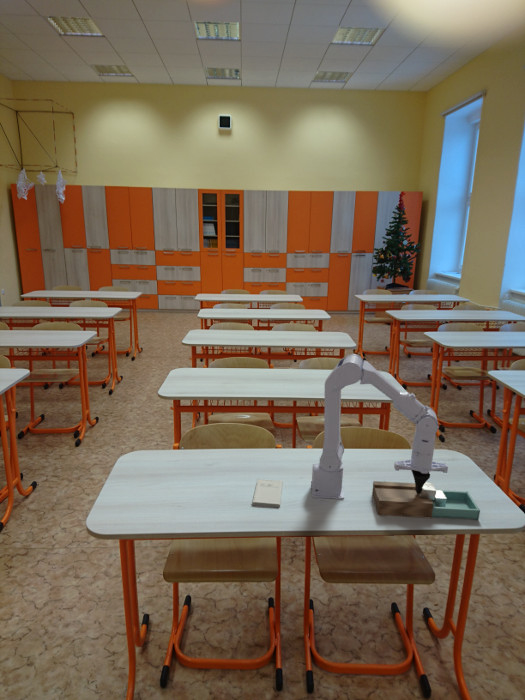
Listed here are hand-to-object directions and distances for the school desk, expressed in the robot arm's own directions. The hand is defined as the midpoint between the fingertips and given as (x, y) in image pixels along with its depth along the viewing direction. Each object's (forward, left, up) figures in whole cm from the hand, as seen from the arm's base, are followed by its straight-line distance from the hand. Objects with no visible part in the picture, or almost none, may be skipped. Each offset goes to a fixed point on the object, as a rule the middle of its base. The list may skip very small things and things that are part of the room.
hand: (417, 492), depth 129 cm
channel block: (-4, 0, -5) cm, 7 cm away
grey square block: (+2, 0, -1) cm, 2 cm away
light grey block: (+5, 0, -2) cm, 5 cm away
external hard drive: (-44, +3, -6) cm, 44 cm away
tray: (+10, 0, -5) cm, 11 cm away
